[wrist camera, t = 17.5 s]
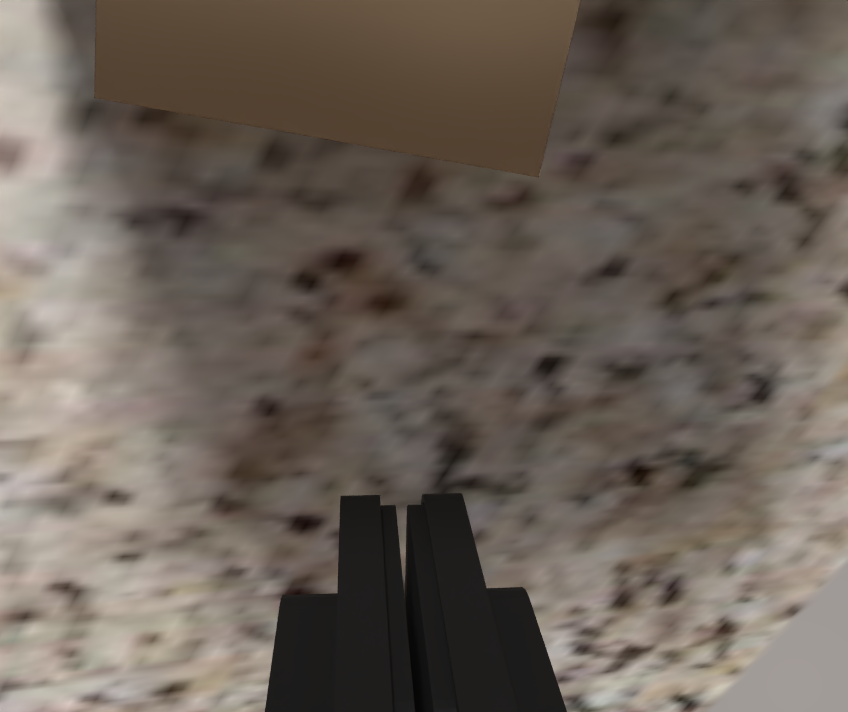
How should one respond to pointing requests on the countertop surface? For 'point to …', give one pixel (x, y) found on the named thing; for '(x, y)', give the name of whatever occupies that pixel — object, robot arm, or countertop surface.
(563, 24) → the tan toy brick
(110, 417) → the countertop surface
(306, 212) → the countertop surface
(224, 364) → the countertop surface
